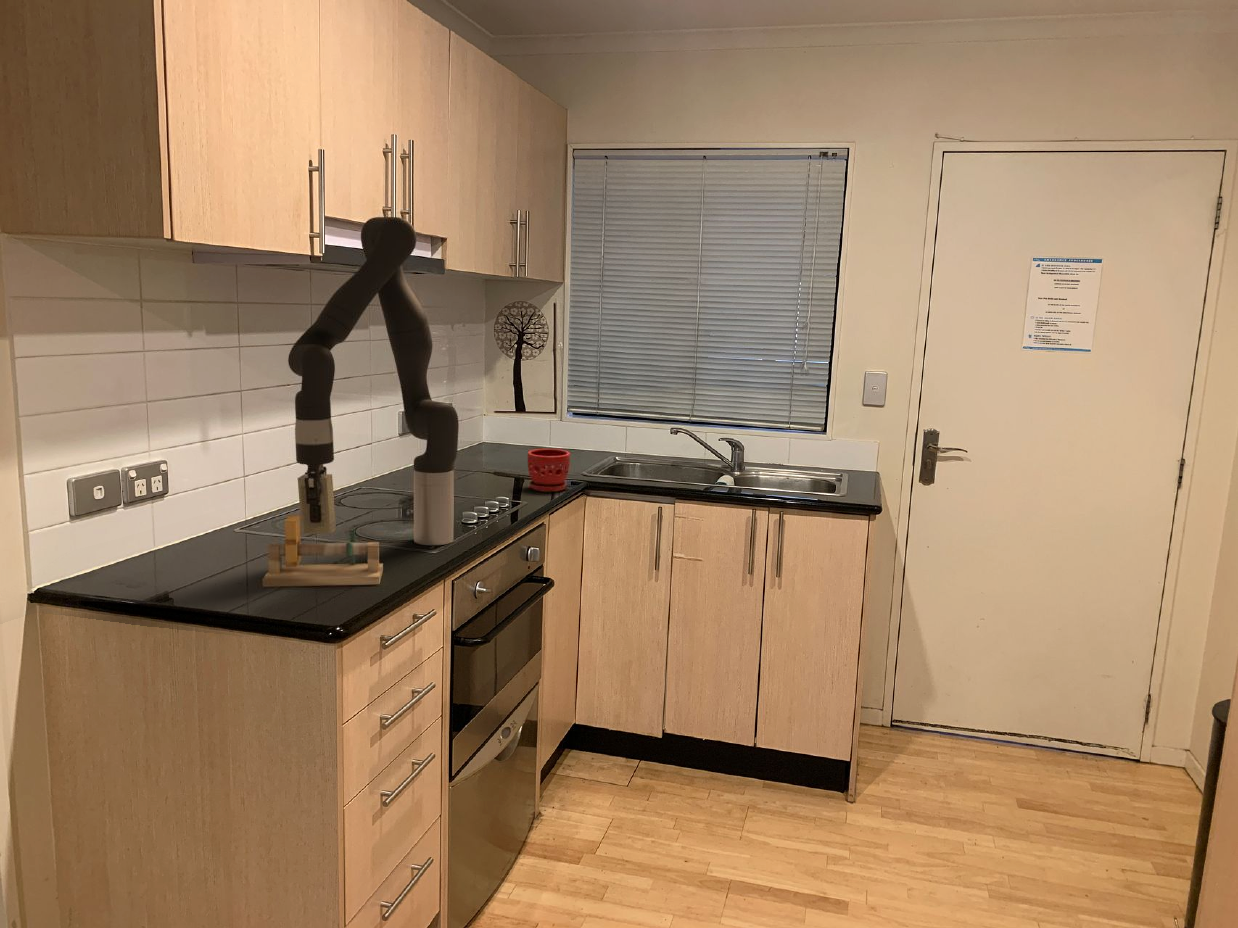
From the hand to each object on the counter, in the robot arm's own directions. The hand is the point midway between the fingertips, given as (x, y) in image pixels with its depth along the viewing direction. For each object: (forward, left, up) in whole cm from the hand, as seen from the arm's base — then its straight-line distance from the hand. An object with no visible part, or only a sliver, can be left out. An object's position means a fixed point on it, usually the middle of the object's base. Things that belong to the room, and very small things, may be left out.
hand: (317, 518), depth 192 cm
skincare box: (0, 0, -3) cm, 3 cm away
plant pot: (-81, +58, -10) cm, 100 cm away
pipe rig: (+11, +3, -10) cm, 15 cm away
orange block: (+11, -3, -6) cm, 14 cm away
